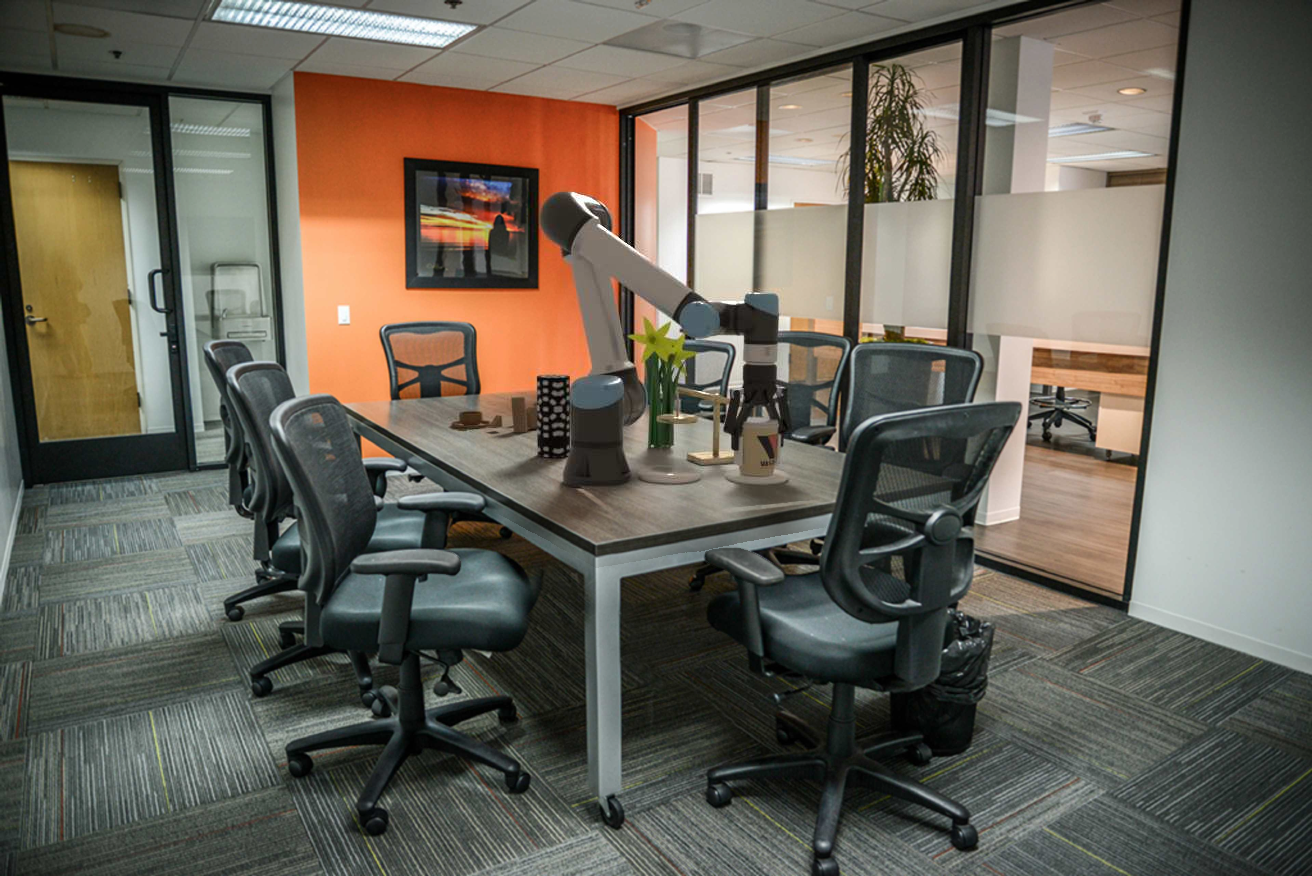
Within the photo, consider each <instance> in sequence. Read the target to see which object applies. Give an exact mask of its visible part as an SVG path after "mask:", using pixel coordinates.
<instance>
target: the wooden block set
mask: <svg viewBox="0 0 1312 876" xmlns="http://www.w3.org/2000/svg"><path fill="white" fill-rule="evenodd" d="M526 405H527V404H526V397H525V396H512V397H511V410H512V411H511V414H512V425H513V426H512V428H513V433H515V434H520V433H523V434H524V433H527V432H528V429H535V428H537V402H534V403H533V406H531V405H530V406H527V407H526ZM502 417H503V416H502V415H499V414H498V415H495V416H494V418H493V419H492V421H491V424H490V426H489V427H487V428H488V429H498V428H503V418H502Z"/></svg>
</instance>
